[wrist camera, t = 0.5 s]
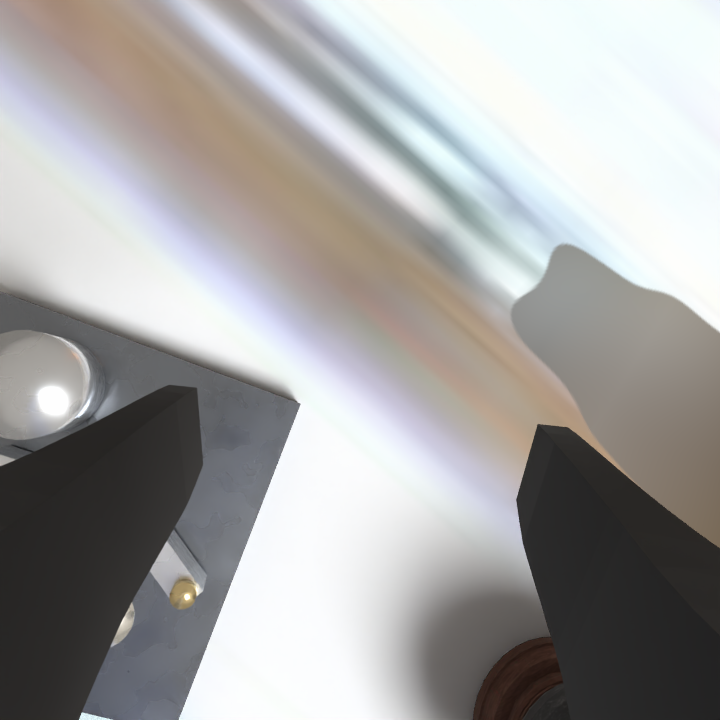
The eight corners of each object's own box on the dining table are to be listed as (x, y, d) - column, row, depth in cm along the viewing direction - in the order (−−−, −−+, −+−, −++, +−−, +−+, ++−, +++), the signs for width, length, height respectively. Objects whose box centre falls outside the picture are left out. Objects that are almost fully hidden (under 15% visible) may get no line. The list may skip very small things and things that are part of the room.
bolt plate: (176, 717, 31) (160, 786, 26) (-155, 636, 28) (-252, 696, 23) (298, 403, 34) (306, 406, 28) (7, 293, 31) (-46, 274, 25)
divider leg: (80, 448, 29) (60, 455, 26) (104, 432, 30) (88, 438, 27) (184, 593, 30) (177, 616, 27) (207, 576, 31) (202, 597, 28)
